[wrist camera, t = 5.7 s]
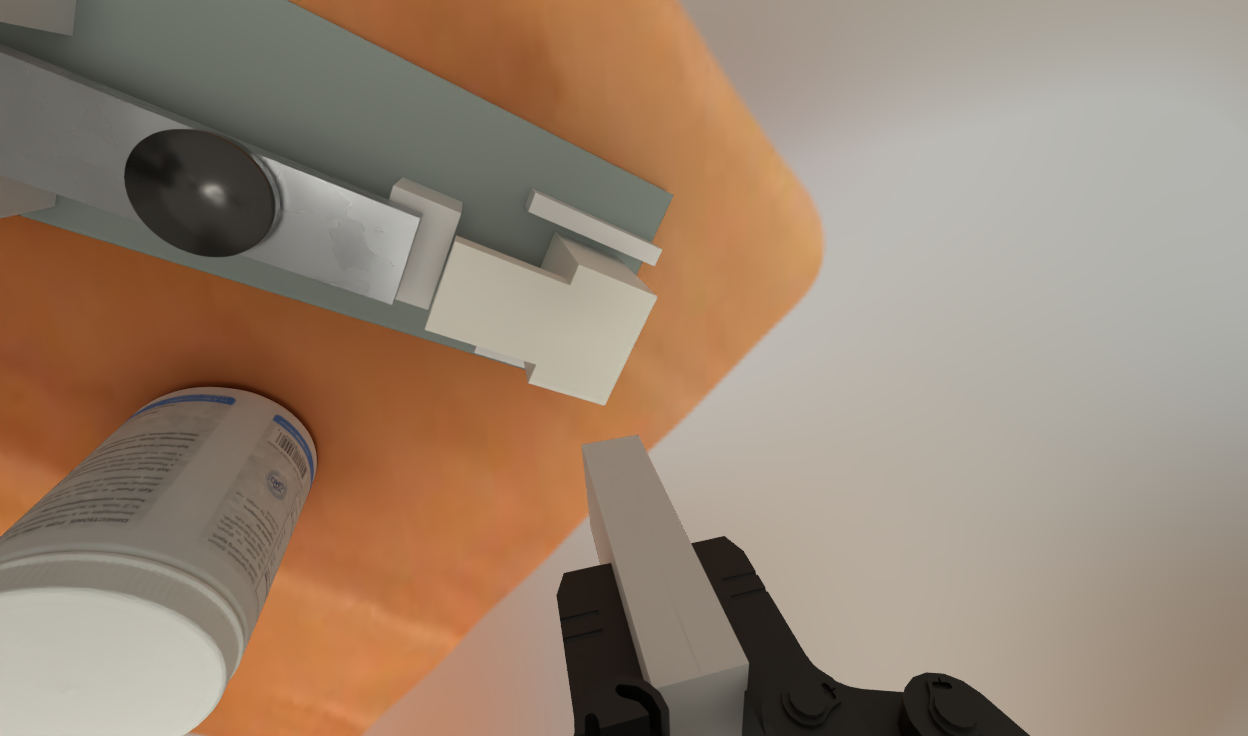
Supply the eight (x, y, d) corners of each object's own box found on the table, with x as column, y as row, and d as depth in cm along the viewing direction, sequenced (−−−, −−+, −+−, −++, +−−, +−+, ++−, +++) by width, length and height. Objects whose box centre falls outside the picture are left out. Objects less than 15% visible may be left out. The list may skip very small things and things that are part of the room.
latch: (430, 297, 29) (417, 350, 22) (465, 193, 27) (463, 217, 20) (577, 347, 32) (604, 405, 26) (618, 257, 31) (657, 296, 24)
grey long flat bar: (-146, 118, 18) (-233, 117, 15) (-148, -23, 16) (-243, -45, 14) (395, 299, 24) (387, 316, 22) (424, 208, 23) (418, 217, 21)
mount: (-70, 177, 23) (-331, 206, 15) (-60, -174, 19) (-402, -359, 11) (580, 379, 35) (609, 449, 27) (666, 192, 31) (727, 216, 24)
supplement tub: (108, 487, 30) (-165, 765, 17) (160, 352, 28) (-110, 555, 15) (290, 532, 34) (181, 783, 21) (349, 417, 32) (265, 620, 19)
